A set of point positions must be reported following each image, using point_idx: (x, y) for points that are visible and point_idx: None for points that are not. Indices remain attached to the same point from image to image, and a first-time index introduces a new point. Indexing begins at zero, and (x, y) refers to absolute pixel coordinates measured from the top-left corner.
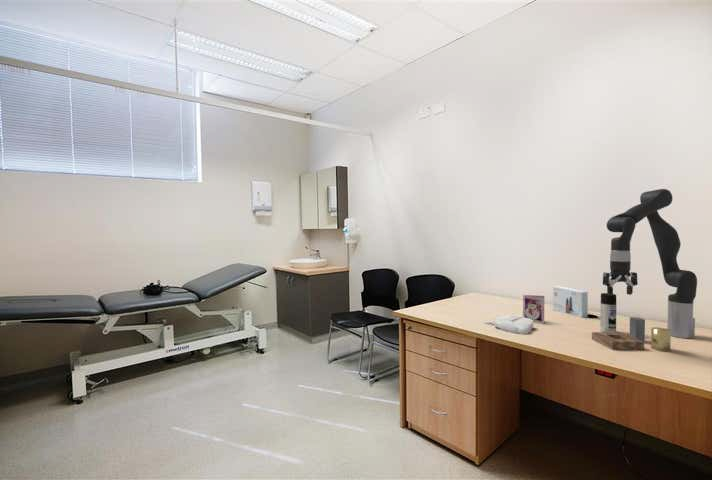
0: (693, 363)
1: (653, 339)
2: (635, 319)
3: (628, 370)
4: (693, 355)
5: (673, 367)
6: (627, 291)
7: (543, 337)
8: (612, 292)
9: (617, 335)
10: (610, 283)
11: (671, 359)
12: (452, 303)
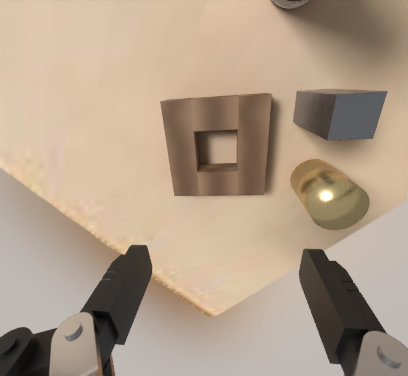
0: (294, 252)
1: (299, 191)
2: (327, 134)
3: None
4: None
5: (236, 266)
6: (312, 274)
7: (24, 89)
8: (141, 290)
9: (233, 129)
10: (91, 365)
11: (269, 236)
12: None
